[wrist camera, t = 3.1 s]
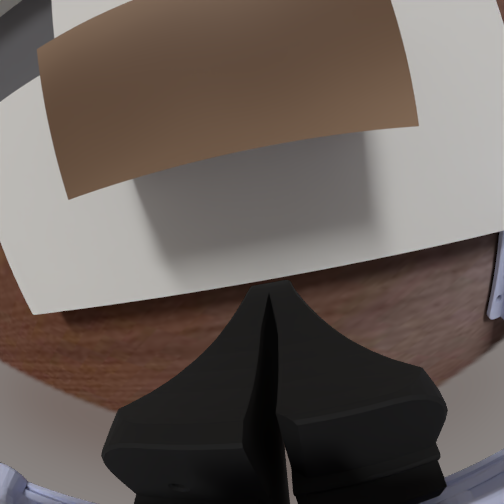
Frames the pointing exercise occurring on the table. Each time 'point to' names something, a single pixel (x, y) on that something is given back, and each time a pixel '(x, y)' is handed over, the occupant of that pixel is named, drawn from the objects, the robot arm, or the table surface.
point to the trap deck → (255, 177)
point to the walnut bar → (217, 82)
